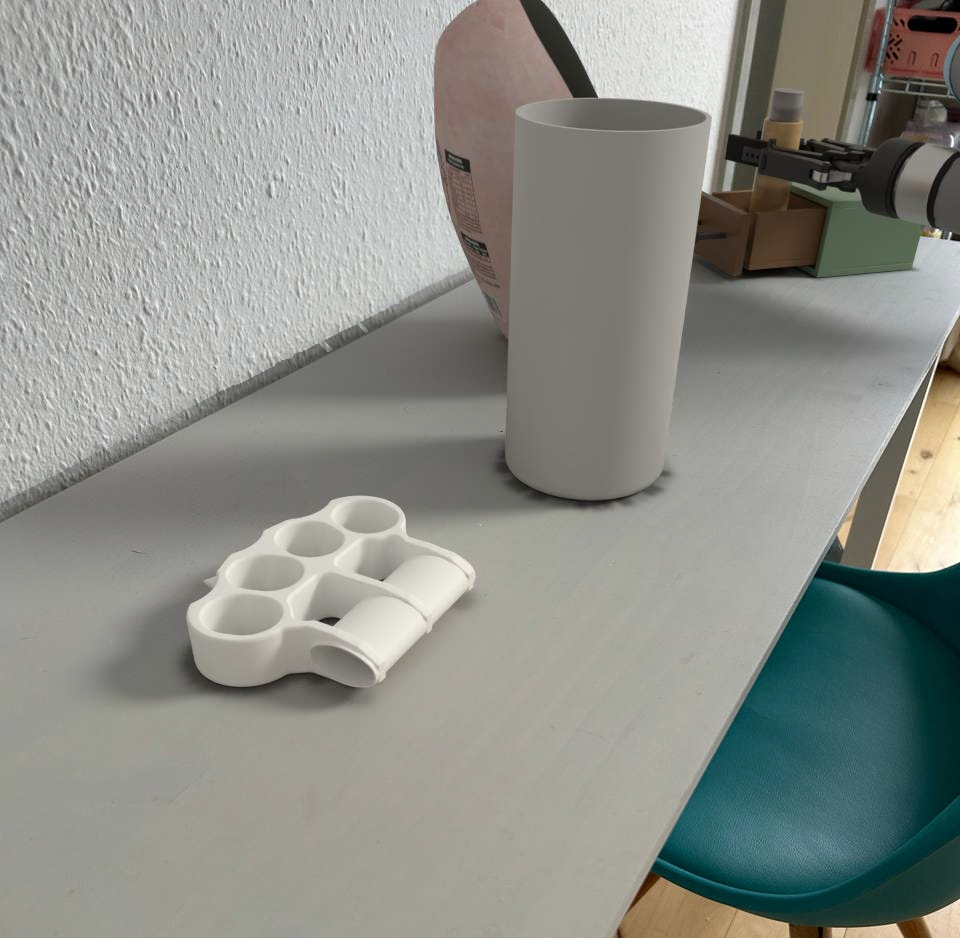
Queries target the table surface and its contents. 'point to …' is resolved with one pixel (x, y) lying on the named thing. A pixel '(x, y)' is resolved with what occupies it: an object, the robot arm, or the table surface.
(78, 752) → the table surface
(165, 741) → the table surface
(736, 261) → the drawer
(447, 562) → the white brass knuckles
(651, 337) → the cylinder vase
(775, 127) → the salt mill
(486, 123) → the packaged food
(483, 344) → the table surface
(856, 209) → the cabinet
